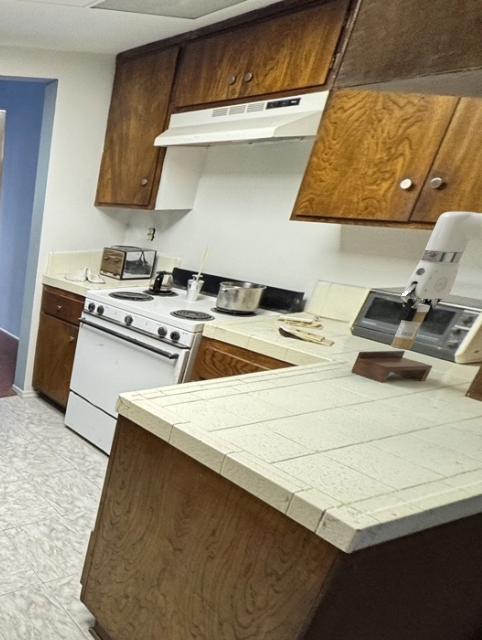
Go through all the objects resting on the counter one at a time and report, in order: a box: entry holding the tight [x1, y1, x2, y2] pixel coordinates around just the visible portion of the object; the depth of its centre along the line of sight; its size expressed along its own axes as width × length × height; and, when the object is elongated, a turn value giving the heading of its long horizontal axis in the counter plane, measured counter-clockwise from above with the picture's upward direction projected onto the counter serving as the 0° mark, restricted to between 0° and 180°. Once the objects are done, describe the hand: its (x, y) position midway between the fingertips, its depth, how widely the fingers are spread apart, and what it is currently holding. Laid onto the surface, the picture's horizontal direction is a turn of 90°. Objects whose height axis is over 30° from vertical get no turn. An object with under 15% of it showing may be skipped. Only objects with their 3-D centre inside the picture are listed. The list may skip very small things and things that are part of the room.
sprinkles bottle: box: [390, 303, 430, 351], centre depth 141 cm, size 5×5×13 cm
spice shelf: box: [350, 350, 433, 383], centre depth 146 cm, size 9×16×7 cm, turn 98°
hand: (412, 319), depth 140 cm, fingers closed on sprinkles bottle, 4 cm apart
